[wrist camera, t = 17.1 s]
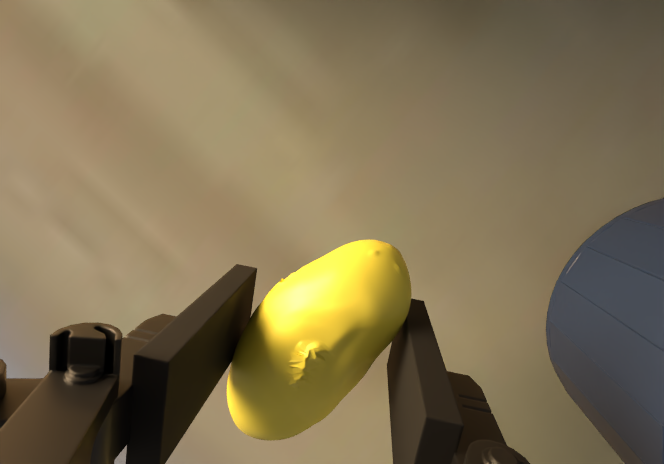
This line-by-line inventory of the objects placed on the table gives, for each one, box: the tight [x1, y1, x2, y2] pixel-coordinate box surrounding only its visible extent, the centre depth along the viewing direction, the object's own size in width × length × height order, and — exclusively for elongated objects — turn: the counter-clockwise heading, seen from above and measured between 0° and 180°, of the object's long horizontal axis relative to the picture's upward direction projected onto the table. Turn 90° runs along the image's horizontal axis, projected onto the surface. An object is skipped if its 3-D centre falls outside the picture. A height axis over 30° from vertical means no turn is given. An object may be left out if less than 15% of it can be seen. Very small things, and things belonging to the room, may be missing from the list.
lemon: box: [227, 240, 411, 440], centre depth 13 cm, size 4×8×4 cm, turn 136°
